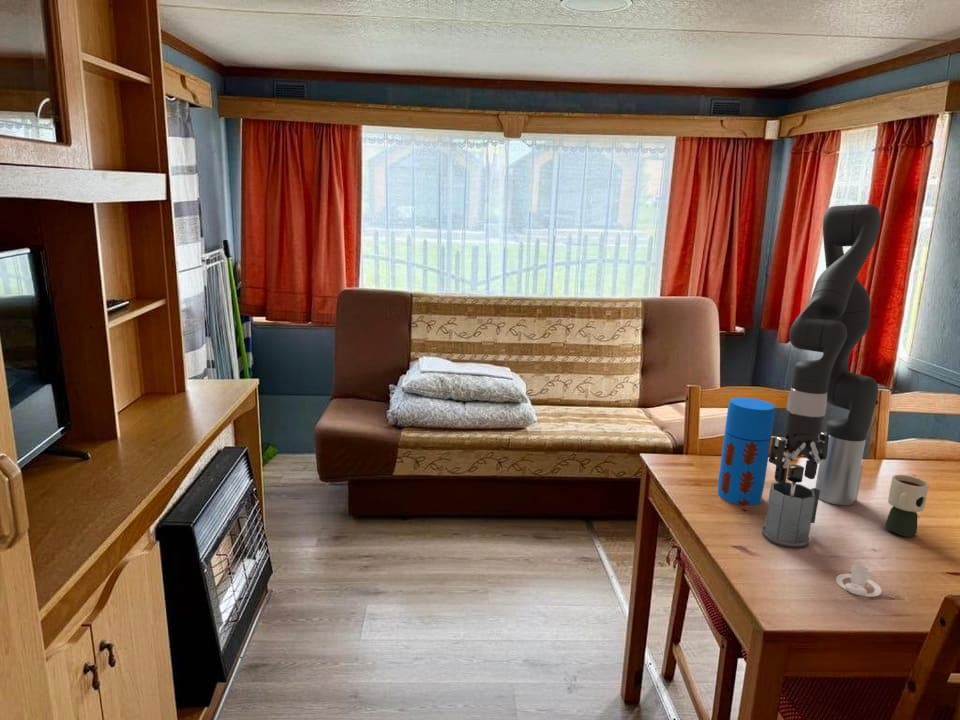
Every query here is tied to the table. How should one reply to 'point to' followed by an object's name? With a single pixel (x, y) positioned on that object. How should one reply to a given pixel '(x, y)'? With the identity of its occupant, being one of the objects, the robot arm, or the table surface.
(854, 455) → the robot arm
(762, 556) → the table surface
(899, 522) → the character mug
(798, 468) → the plunger
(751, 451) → the thermos
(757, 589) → the table surface
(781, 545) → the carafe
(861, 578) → the teacup and saucer
